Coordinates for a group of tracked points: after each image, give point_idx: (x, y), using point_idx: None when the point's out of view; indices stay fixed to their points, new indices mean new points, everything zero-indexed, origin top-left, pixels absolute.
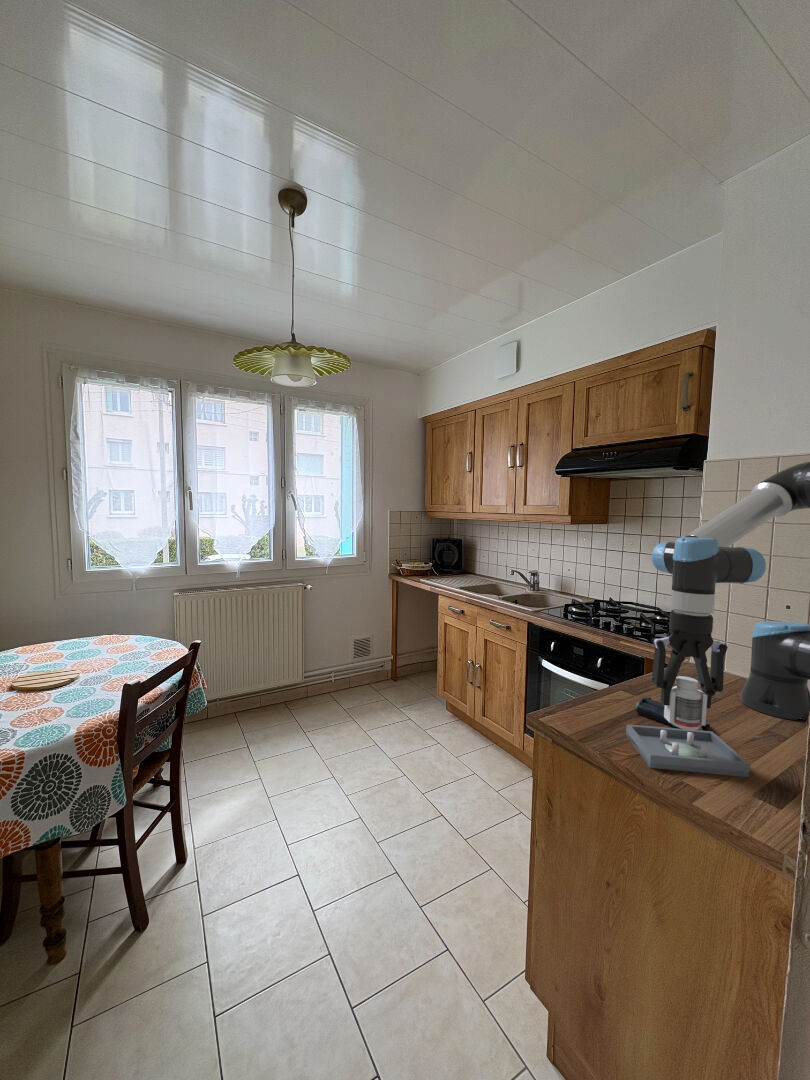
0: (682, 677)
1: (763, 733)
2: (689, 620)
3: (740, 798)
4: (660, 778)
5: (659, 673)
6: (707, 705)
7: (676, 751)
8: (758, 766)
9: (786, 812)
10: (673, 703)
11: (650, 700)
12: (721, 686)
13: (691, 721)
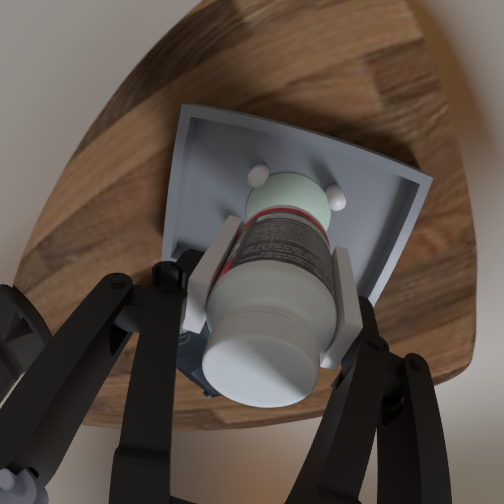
0: (261, 397)
1: (60, 265)
2: None
3: (291, 27)
4: (427, 127)
5: (432, 414)
6: (195, 258)
7: (338, 189)
8: (137, 148)
9: None
10: (346, 289)
11: (210, 389)
12: (102, 288)
13: (294, 217)
